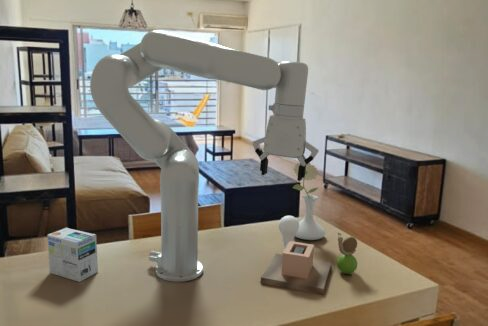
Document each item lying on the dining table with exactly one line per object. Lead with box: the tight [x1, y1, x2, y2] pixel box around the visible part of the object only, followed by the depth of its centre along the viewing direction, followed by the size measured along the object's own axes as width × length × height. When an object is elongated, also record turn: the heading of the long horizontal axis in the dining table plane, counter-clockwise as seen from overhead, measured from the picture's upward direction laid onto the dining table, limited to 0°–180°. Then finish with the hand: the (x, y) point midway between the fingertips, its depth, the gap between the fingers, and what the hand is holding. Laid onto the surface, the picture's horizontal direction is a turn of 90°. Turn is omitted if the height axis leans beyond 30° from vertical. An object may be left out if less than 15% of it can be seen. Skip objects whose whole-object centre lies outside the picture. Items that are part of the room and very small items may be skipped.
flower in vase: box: [292, 162, 326, 241], centre depth 143 cm, size 13×11×25 cm
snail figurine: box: [336, 232, 358, 275], centre depth 118 cm, size 5×6×12 cm
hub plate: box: [260, 247, 332, 295], centre depth 117 cm, size 16×16×7 cm
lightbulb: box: [278, 215, 300, 250], centre depth 132 cm, size 6×6×11 cm
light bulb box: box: [47, 227, 99, 283], centre depth 113 cm, size 11×7×11 cm, turn 65°
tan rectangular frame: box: [281, 241, 315, 279], centre depth 117 cm, size 7×9×6 cm
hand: (281, 177), depth 114 cm, fingers open, 9 cm apart
